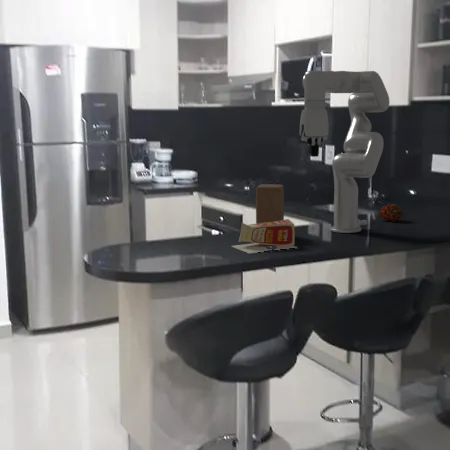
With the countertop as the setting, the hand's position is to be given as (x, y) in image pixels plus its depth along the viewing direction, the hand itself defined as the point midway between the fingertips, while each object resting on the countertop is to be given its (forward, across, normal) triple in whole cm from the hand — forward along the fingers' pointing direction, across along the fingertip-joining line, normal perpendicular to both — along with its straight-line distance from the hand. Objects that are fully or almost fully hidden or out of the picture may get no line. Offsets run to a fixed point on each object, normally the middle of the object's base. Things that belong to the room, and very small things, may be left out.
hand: (314, 156), depth 237 cm
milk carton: (+27, +9, -1) cm, 29 cm away
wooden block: (+32, +8, -19) cm, 38 cm away
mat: (+32, +21, 0) cm, 38 cm away
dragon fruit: (+32, -55, -23) cm, 68 cm away
